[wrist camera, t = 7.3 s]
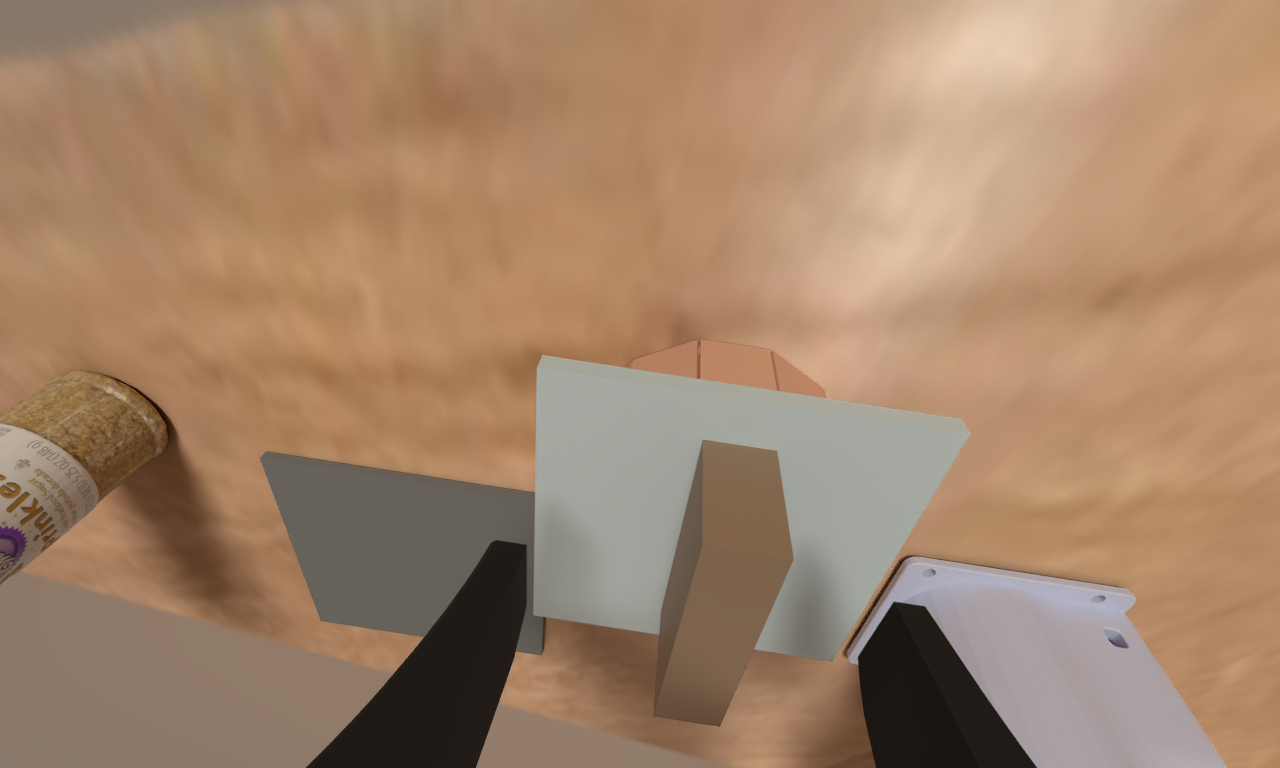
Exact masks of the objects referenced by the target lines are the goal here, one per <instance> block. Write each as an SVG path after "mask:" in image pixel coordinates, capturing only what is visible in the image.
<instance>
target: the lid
mask: <svg viewBox="0 0 1280 768" xmlns="http://www.w3.org/2000/svg"><path fill="white" fill-rule="evenodd" d="M969 436H970V432H969V430H968V429H967V427H966V425H965V423H964V422H963V420H962V419H959V418H952V417H946V416H939V415H932V414H926V413H919V412H913V411H906V410H900V409H893V408H886V407H880V406H873V405H867V404H860V403H854V402H847V401H840V400H834V399H827V398H821V397H814V396H808V395H801V394H794V393H788V392H781V391H775V390H768V389H762V388H755V387H748V386H742V385H735V384H729V383H722V382H716V381H709V380H702V379H696V378H689V377H683V376H676V375H670V374H663V373H656V372H650V371H643V370H637V369H630V368H624V367H617V366H610V365H604V364H597V363H591V362H584V361H578V360H571V359H565V358H558V357H551V356H545V355H542V358H541V360H540V362H539V364H538V367H537V399H536V467H535V534H534V602H533V615H535V616H541V617H548V618H554V619H561V620H567V621H573V622H580V623H586V624H593V625H599V626H606V627H612V628H618V629H625V630H631V631H638V632H644V633H651V634H657V635H659V645H658V660H657V674H656V688H655V702H654V716H655V717H662V718H668V719H674V720H681V721H687V722H694V723H700V724H706V725H713V726H719V727H720V725H721V723H722V720H723V718H724V716H725V714H726V711H727V709H728V707H729V705H730V702H731V700H732V698H733V696H734V693H735V691H736V689H737V687H738V684H739V682H740V680H741V678H742V675H743V673H744V671H745V669H746V666H747V664H748V662H749V659H750V657H751V655H752V653H753V650H760V651H766V652H773V653H779V654H785V655H792V656H798V657H805V658H811V659H818V660H824V661H830V662H832V661H833V659H834V658H835V656H836V654H837V653H838V651H839V649H840V648H841V646H842V644H843V643H844V641H845V640H846V638H847V636H848V635H849V633H850V631H851V630H852V628H853V626H854V625H855V623H856V621H857V620H858V618H859V617H860V615H861V613H862V612H863V610H864V608H865V607H866V605H867V603H868V602H869V600H870V599H871V597H872V595H873V594H874V592H875V590H876V589H877V587H878V585H879V584H880V582H881V580H882V579H883V577H884V576H885V574H886V572H887V571H888V569H889V567H890V566H891V564H892V562H893V561H894V559H895V557H896V556H897V554H898V553H899V551H900V549H901V548H902V546H903V544H904V543H905V541H906V539H907V538H908V536H909V534H910V533H911V531H912V530H913V528H914V526H915V525H916V523H917V521H918V520H919V518H920V516H921V515H922V513H923V511H924V510H925V508H926V507H927V505H928V503H929V502H930V500H931V498H932V497H933V495H934V493H935V492H936V490H937V488H938V487H939V485H940V484H941V482H942V480H943V479H944V477H945V475H946V474H947V472H948V470H949V469H950V467H951V465H952V464H953V462H954V461H955V459H956V457H957V456H958V454H959V452H960V451H961V449H962V447H963V446H964V444H965V442H966V441H967V439H968V438H969Z"/></svg>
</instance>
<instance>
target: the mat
mask: <svg viewBox="0 0 1280 768" xmlns="http://www.w3.org/2000/svg"><path fill="white" fill-rule="evenodd" d="M260 460H261V462H262V465H263V468H264V470H265V473H266V476H267V478H268V481H269V484H270V486H271V489H272V492H273V494H274V497H275V500H276V502H277V505H278V508H279V510H280V513H281V516H282V518H283V521H284V524H285V526H286V529H287V532H288V534H289V537H290V540H291V542H292V545H293V548H294V550H295V553H296V556H297V558H298V561H299V564H300V566H301V569H302V572H303V574H304V577H305V580H306V582H307V585H308V588H309V590H310V593H311V596H312V598H313V601H314V604H315V606H316V609H317V612H318V614H319V617H320V620H321V621H325V622H331V623H338V624H344V625H350V626H357V627H363V628H370V629H376V630H382V631H389V632H395V633H402V634H408V635H414V636H421V637H425V636H426V634H427V633H428V632H429V630H430V629H431V628H432V626H433V625H434V624H435V623H436V621H437V620H438V619H439V617H440V616H441V615H442V614H443V612H444V611H445V610H446V608H447V607H448V606H449V604H450V603H451V602H452V600H453V599H454V597H455V596H456V595H457V593H458V592H459V590H460V589H461V588H462V586H463V585H464V583H465V582H466V581H467V579H468V578H469V576H470V575H471V573H472V572H473V570H474V569H475V567H476V566H477V564H478V563H479V561H480V559H481V558H482V556H483V555H484V553H485V551H486V550H487V548H488V546H489V545H490V543H491V542H493V541H495V540H500V541H506V542H513V543H519V544H525V545H527V607H526V611H525V615H524V619H523V623H522V627H521V632H520V636H519V640H518V644H517V648H516V651H517V652H523V653H530V654H536V655H542V653H543V648H544V621H545V617H541V616H535V615H533V602H534V534H535V493H532V492H525V491H519V490H512V489H506V488H499V487H493V486H486V485H480V484H473V483H467V482H460V481H454V480H447V479H441V478H434V477H428V476H421V475H415V474H408V473H402V472H395V471H389V470H382V469H376V468H369V467H363V466H356V465H350V464H343V463H337V462H330V461H324V460H317V459H311V458H304V457H298V456H291V455H285V454H278V453H272V452H265V453H264V454H263V455H262V456H261V457H260Z"/></svg>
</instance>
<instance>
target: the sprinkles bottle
mask: <svg viewBox="0 0 1280 768" xmlns="http://www.w3.org/2000/svg"><path fill="white" fill-rule="evenodd" d="M167 442H168V436H167V431H166V424H165V422H164V421H163V420H162V417H161V416H160V414H159V413H158V411H157V410H156V409H155V408H154V406H153V405H152V404H151V403H150V402H149V401H148V400H147V399H145V398H144V397H143V396H141V395H140V394H139V393H138V392H137V391H135V390H134V389H132V388H131V387H129V386H127V385H125V384H123V383H121V382H119V381H116V380H115V379H113V378H110V377H107V376H104V375H101V374H96V373H91V372H85V371H72V372H68V373H62V374H60V375H58V376H56V377H54V378H53V379H51V380H50V381H49V382H47V384H46V386H45V387H44V388H42V389H41V390H39V391H38V392H36V393H35V394H33V395H31V396H30V397H28V398H27V399H25V400H23V401H21V402H20V403H18V404H17V405H15V406H13V407H11V408H10V409H8V410H7V411H5V412H3V413H2V414H0V584H1V583H3V582H4V581H5V580H6V579H7V578H9V577H10V576H12V575H14V574H16V573H18V572H19V571H20V570H22V569H23V568H24V567H25V566H27V565H28V564H29V563H30V562H31V561H33V560H34V559H35V558H36V557H37V556H39V555H40V554H41V553H42V552H43V551H45V550H46V549H47V548H48V547H49V546H50V545H52V544H53V543H54V542H56V541H57V540H58V539H59V538H60V537H61V536H63V535H64V534H65V533H66V532H67V531H68V530H70V529H71V528H72V527H73V526H74V525H75V524H77V523H78V522H79V521H80V520H81V519H83V518H84V517H85V516H86V515H87V514H88V513H89V512H91V511H92V510H93V509H94V508H95V507H96V505H97V504H98V503H99V502H100V501H101V500H102V499H103V498H104V497H105V496H106V495H107V494H108V493H110V492H111V491H112V490H113V489H115V488H116V487H117V486H119V485H120V484H121V483H122V482H123V481H124V480H125V479H127V478H128V477H129V476H130V475H132V474H133V473H134V472H135V471H136V470H137V469H138V468H140V467H141V466H142V465H143V464H144V463H146V462H147V461H149V460H151V459H153V458H156V457H157V456H159V455H160V454H161V453H162V452H163V450H164V449H165V447H166V445H167Z"/></svg>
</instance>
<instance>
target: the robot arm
mask: <svg viewBox="0 0 1280 768" xmlns="http://www.w3.org/2000/svg"><path fill="white" fill-rule="evenodd" d="M1135 602H1136V598H1135V596H1134V595H1133V594H1132V592H1131V591H1130V590H1128V589H1125V588H1120V587H1113V586H1107V585H1100V584H1094V583H1087V582H1081V581H1074V580H1068V579H1061V578H1055V577H1048V576H1042V575H1035V574H1029V573H1022V572H1016V571H1009V570H1003V569H996V568H990V567H983V566H977V565H970V564H964V563H957V562H951V561H944V560H938V559H931V558H925V557H917V556H914V557H909V558H907V559H906V560H905V561H904V562H903V563H902V564H901V566H900V568H899V569H898V571H897V572H896V574H895V576H894V577H893V579H892V580H891V582H890V584H889V585H888V587H887V588H886V590H885V592H884V593H883V595H882V596H881V598H880V600H879V601H878V603H877V604H876V606H875V608H874V609H873V611H872V612H871V614H870V616H869V617H868V619H867V620H866V622H865V624H864V625H863V627H862V628H861V630H860V631H859V633H858V635H857V636H856V638H855V639H854V641H853V643H852V644H851V646H850V647H849V649H848V651H847V658H848V661H849V662H850V663H852V664H855V665H858V666H859V676H860V686H861V694H862V702H863V710H864V716H865V721H866V725H867V730H868V734H869V738H870V743H871V747H872V752H873V756H874V760H875V765H876V768H1227V767H1226V765H1225V763H1224V762H1223V760H1222V758H1221V757H1220V755H1219V753H1218V752H1217V750H1216V749H1215V747H1214V746H1213V744H1212V743H1211V741H1210V740H1209V738H1208V737H1207V735H1206V734H1205V732H1204V731H1203V729H1202V728H1201V726H1200V725H1199V723H1198V722H1197V720H1196V719H1195V717H1194V716H1193V714H1192V713H1191V711H1190V710H1189V708H1188V707H1187V705H1186V704H1185V702H1184V701H1183V699H1182V698H1181V696H1180V695H1179V693H1178V692H1177V690H1176V689H1175V687H1174V686H1173V684H1172V683H1171V681H1170V680H1169V678H1168V677H1167V675H1166V674H1165V672H1164V671H1163V669H1162V668H1161V666H1160V665H1159V663H1158V662H1157V660H1156V659H1155V657H1154V656H1153V654H1152V653H1151V651H1150V650H1149V648H1148V647H1147V645H1146V644H1145V642H1144V641H1143V639H1142V638H1141V636H1140V635H1139V633H1138V632H1137V630H1136V629H1135V627H1134V626H1133V624H1132V623H1131V621H1130V620H1129V618H1128V617H1127V615H1126V614H1125V612H1126V611H1127V610H1128V609H1129V608H1131V607H1132V606H1133V605H1134V603H1135ZM526 607H527V545H525V544H519V543H513V542H506V541H500V540H495V541H493V542H491V543H490V545H489V546H488V548H487V550H486V551H485V553H484V555H483V556H482V558H481V559H480V561H479V563H478V564H477V566H476V567H475V569H474V570H473V572H472V573H471V575H470V576H469V578H468V579H467V581H466V582H465V583H464V585H463V586H462V588H461V589H460V590H459V592H458V593H457V595H456V596H455V597H454V599H453V600H452V602H451V603H450V604H449V606H448V607H447V608H446V610H445V611H444V612H443V614H442V615H441V616H440V617H439V619H438V620H437V621H436V623H435V624H434V625H433V626H432V628H431V629H430V630H429V632H428V633H427V634H426V636H425V637H424V638H423V639H422V641H421V642H420V643H419V644H418V646H417V647H416V648H415V649H414V651H413V652H412V653H411V654H410V655H409V656H408V658H407V659H406V660H405V661H404V662H403V664H402V665H401V666H400V667H399V668H398V669H397V671H396V672H395V673H394V674H393V675H392V676H391V678H390V679H389V680H388V681H387V682H386V683H385V685H384V686H383V687H382V688H381V689H380V690H379V692H378V693H377V694H376V695H375V696H374V697H373V699H372V700H371V701H370V702H369V703H368V704H367V705H366V706H365V707H364V708H363V709H362V710H361V711H360V713H359V714H358V715H357V716H356V717H355V718H354V719H353V720H352V721H351V722H350V723H349V724H348V726H346V727H345V729H344V730H343V731H342V732H341V733H340V734H339V735H338V736H337V737H336V738H335V739H334V740H333V741H332V742H331V743H330V744H329V745H328V746H327V747H326V748H325V749H324V750H323V751H322V752H321V753H320V754H319V755H318V756H317V757H316V758H315V759H314V760H313V761H312V762H311V763H310V764H309V765H308V766H307V767H306V768H476V766H477V762H478V760H479V757H480V754H481V751H482V748H483V746H484V743H485V740H486V737H487V734H488V731H489V728H490V725H491V723H492V720H493V717H494V714H495V711H496V708H497V706H498V703H499V700H500V697H501V694H502V691H503V688H504V686H505V683H506V680H507V677H508V674H509V671H510V668H511V665H512V662H513V659H514V656H515V652H516V648H517V644H518V640H519V636H520V632H521V627H522V623H523V619H524V615H525V611H526Z"/></svg>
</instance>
